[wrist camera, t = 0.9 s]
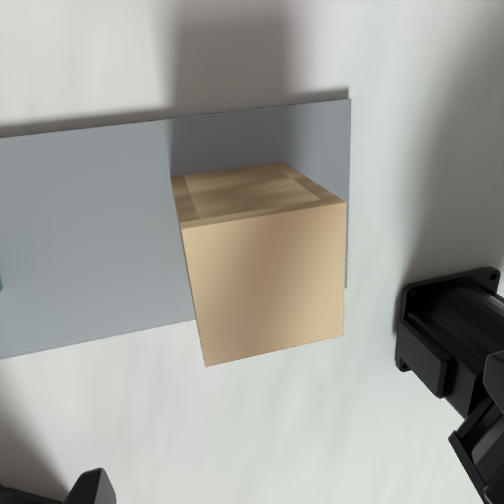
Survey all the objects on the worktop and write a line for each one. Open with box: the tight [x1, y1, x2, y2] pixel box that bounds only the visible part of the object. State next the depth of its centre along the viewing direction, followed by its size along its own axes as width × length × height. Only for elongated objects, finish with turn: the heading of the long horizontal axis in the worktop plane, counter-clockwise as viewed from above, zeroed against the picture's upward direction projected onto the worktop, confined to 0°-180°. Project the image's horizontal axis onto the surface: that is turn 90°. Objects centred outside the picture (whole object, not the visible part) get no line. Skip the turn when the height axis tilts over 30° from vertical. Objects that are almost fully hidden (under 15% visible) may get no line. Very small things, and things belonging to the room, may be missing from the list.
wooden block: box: [170, 162, 346, 367], centre depth 16 cm, size 5×5×7 cm
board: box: [0, 99, 351, 360], centre depth 18 cm, size 24×10×1 cm, turn 95°
